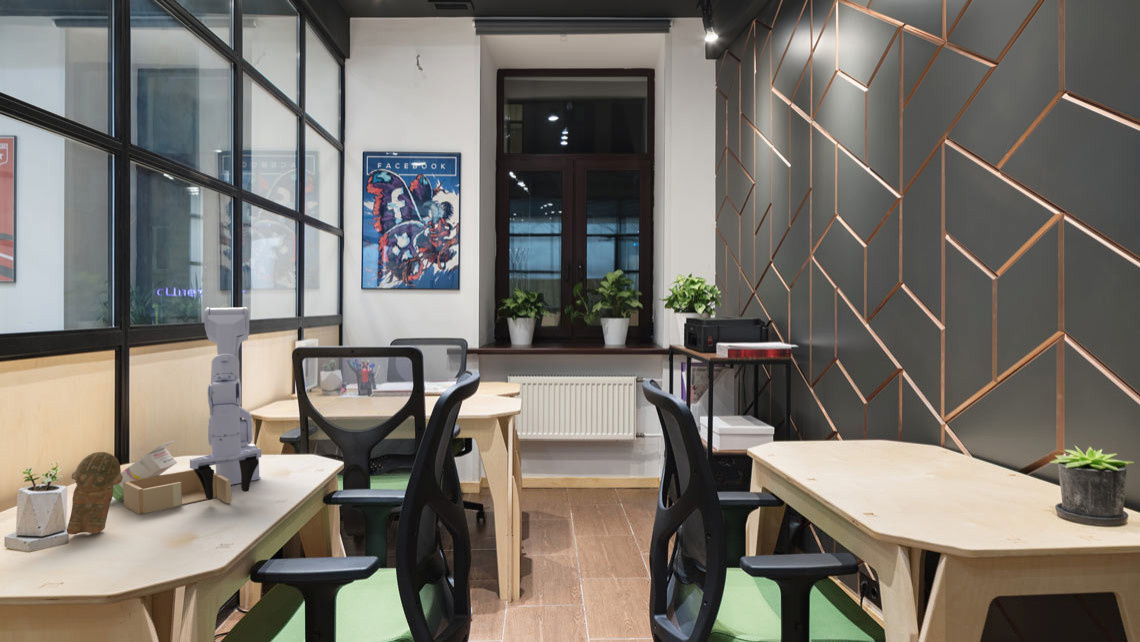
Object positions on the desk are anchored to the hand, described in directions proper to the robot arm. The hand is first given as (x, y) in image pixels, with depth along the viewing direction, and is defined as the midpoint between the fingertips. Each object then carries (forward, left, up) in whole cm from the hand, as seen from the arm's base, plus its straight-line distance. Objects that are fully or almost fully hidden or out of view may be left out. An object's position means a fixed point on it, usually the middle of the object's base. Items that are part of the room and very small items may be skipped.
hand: (227, 494), depth 146 cm
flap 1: (+11, -5, -1) cm, 13 cm away
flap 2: (0, -1, -1) cm, 2 cm away
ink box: (+14, -25, 0) cm, 29 cm away
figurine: (+25, +1, -2) cm, 25 cm away
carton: (+8, -11, -2) cm, 13 cm away
